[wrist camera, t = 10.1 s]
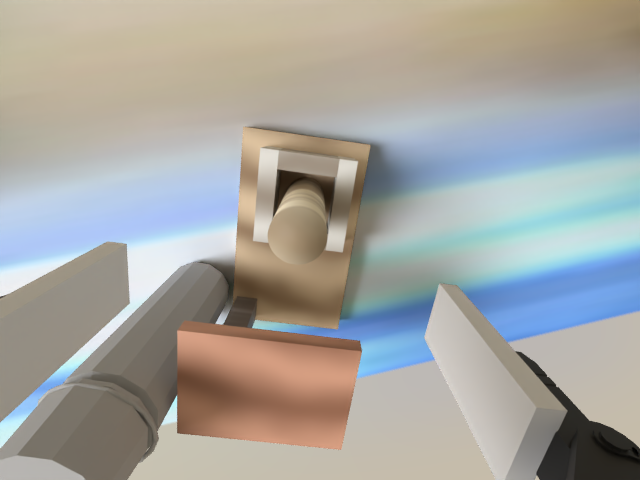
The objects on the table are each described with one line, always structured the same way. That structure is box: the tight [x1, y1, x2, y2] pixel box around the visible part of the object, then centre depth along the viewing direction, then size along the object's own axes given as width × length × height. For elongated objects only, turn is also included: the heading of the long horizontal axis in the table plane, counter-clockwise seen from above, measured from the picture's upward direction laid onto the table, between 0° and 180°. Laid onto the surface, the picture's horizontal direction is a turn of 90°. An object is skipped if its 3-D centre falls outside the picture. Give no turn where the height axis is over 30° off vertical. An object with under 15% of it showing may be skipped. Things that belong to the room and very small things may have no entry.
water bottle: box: [0, 262, 229, 480], centre depth 29 cm, size 9×8×25 cm
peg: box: [268, 177, 327, 265], centre depth 29 cm, size 4×4×14 cm
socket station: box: [177, 127, 371, 450], centre depth 30 cm, size 22×13×18 cm, turn 172°
